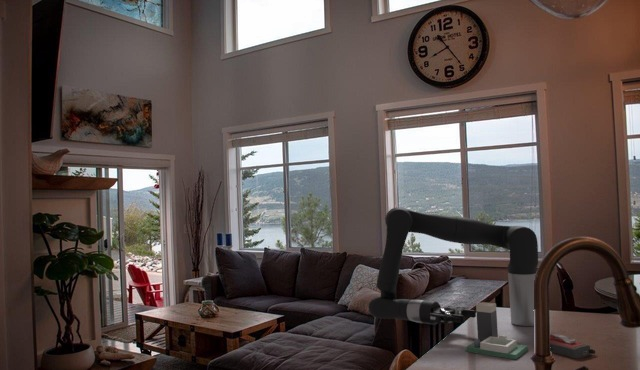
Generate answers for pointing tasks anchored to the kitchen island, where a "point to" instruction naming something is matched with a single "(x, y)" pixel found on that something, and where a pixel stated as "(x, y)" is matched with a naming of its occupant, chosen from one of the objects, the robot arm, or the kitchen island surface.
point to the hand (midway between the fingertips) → (469, 316)
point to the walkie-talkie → (569, 347)
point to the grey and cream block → (486, 320)
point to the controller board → (497, 347)
